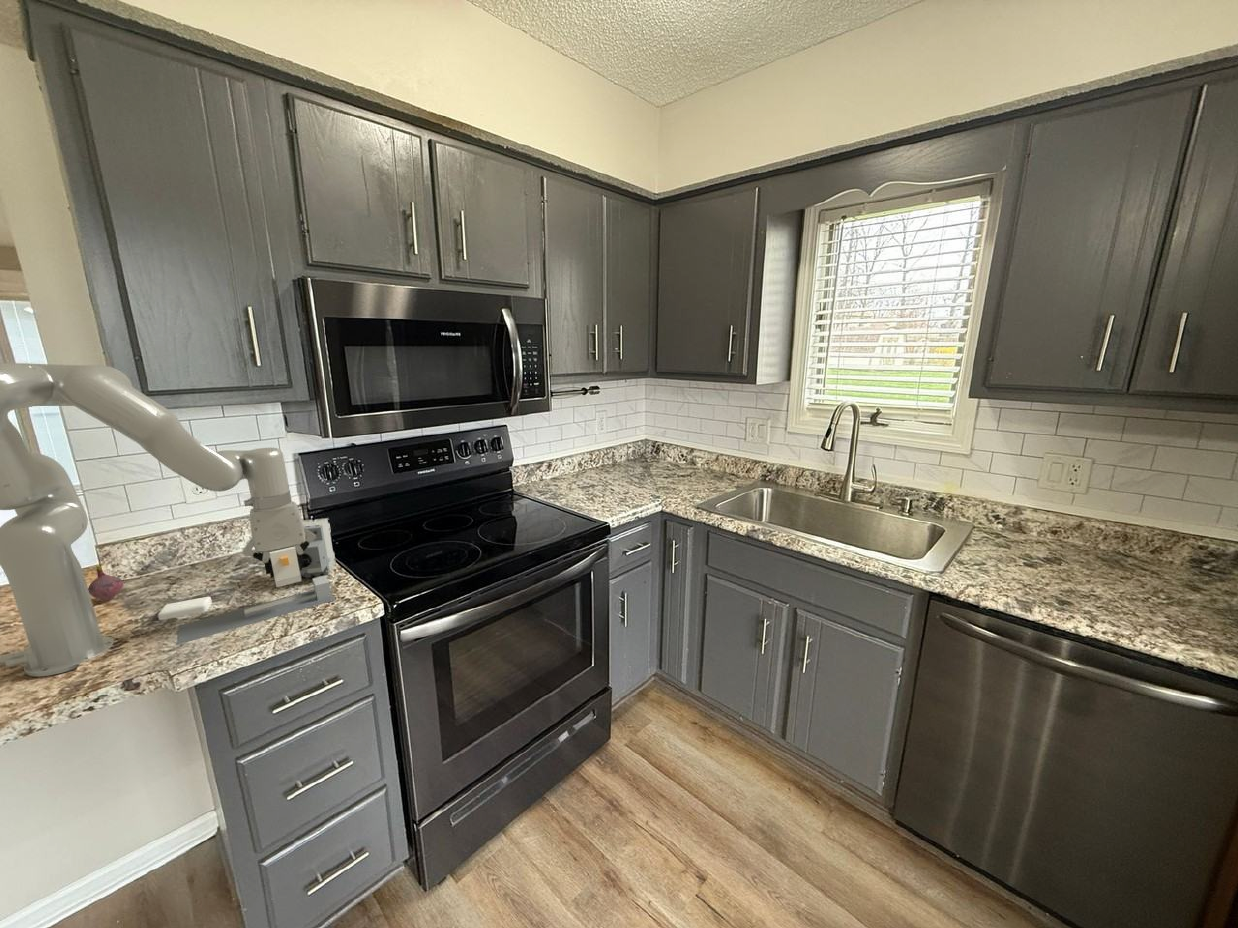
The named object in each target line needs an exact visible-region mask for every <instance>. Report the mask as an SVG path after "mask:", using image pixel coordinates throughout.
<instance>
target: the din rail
mask: <svg viewBox="0 0 1238 928" xmlns="http://www.w3.org/2000/svg"><path fill="white" fill-rule="evenodd" d="M314 599H317V595H316V592H315V591H312V592H308V593H304V594H301V595H297V596H293V597H289V598H286V599H282V600H278V601H274V602H271V603H267V604H263V605H259V606H256V607H252V608H248V609H245V610H244V612H245V618H248V617H252V616H256V615H259V614H263V613H266V612H270V611H274V610H277V609H281V608H285V607H288V606H292V605H295V604H299V603H303V602H306V601H310V600H314Z"/></svg>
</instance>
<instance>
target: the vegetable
mask: <svg viewBox="0 0 1238 928" xmlns="http://www.w3.org/2000/svg"><path fill="white" fill-rule="evenodd" d="M95 570H96V573H97V575H96V576H97V578H95V579H94V580H92V581H91V583H90V584H89V585H88V586H87V587H88V590H89V594H90V597H93V598H94V599H98V600H101V601H107V602H109V600H110V601H111V600H113V599H114V598H115V597H116V596H117V595H118V594H120V593H121V592H122V590H123V588H124V583H123V582H124V581H122V579H121V578H119V577H118V576H113V575H109V574H106V573H105V572H104V571H103V570H102V567H101V565H99V564H98V565H97V566H96V567H95Z"/></svg>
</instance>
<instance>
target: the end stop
mask: <svg viewBox="0 0 1238 928" xmlns="http://www.w3.org/2000/svg"><path fill="white" fill-rule="evenodd" d="M312 585H313V590H314V591H315V592H316V595H317V600H321V599H325V598H329V597H332V596H331V591H332V590H330V589H331V585H330V581H329V579H328V577H327V575H323V576H322V575H321V576H317V577H314V578H312Z"/></svg>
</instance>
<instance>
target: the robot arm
mask: <svg viewBox="0 0 1238 928" xmlns="http://www.w3.org/2000/svg"><path fill="white" fill-rule="evenodd" d="M58 406H59V407H75V408H77V409H79V410H81V411H82V412H84V413H86V414H87V415H89V416H91V417H93V418H94V419H96V420H97V421H99V422H101V423H102V424H105V425H106V426H108V427H110V428H111V429H113V430H115V431H117V432H119V433H120V434H121V435H123V436H125V437H127V438H129V439H130V440H131V441H133V442H135V443H137V444H138V446H141V448H142V449H143V450H144V451H146V452H147V453H148V454H150V455H151V456H152V457H153V458H155V460H157V461H158V462H159V463H161V464H162V465H163V466H165V467H166V468H168V469H169V470H171V471H172V472H173V473H176V474H177V475H179V476H180V477H183V478H184V479H186V480H187V481H188V482H191V483H193V484H195V485H197V486H198V487H200V488H202V489H204V490H207V491H211V492H215V493H216V492H218V493H219V492H225V491H229V490H231V489H233V488H235V487H236V486H237V485H238V483H240V482H241V481H242V480H246V481H247V484H248V490H249V495H250V497H249V499H246V500H243V503H244V506H245V507H251V509H250V510H249V526H250V533H251V537H250V538H249V540H248V542H247V543H246V545H245V546H244V548H243V549H242V554H243V555H245V556H249V557H252V558H253V559H256V560H258V561H260V562H262V563H264V568H265V573H266V574H265V575H270V578H273V579H274V573H273V568H272V563H271V559H270V556H269V554H270V553H269V551H273V550H277V549H282V548H286V547H291V546H295V549H296V554H297V560H298V565H299V570H300V571H301V570H302V567H301V566H303V565H304V561H303V555H302V554H303V552H304V551H305V549H306V548H307V547H308V546H309V544H310V543H311V542H312V541H313V540H314V539H315V538H316V535H315V534H313V533H312V532H310V531H309V530H307V529H306V528H305V527H303V523H302V521H303V519H302V516H301V512H300V510H299V506H298V505H297V502H295V501H292V495H291V490H290V486H289V485H290V484H289V480H288V474H287V469H286V464H285V457H284V453H283V451H282V450H281V449H280V448H277V447H260V448H254V449H249V450H231V449H230V450H220V451H219V450H218V451H215V450H212V449H211V448H210V447H208V446H207V445H205V444H203V443H201V442H200V441H199V440H198V439H196V438H195V437H194V436H192V435H191V434H190V433H189V432H188V431H187V430H186V429H185V427H184V426H183V425H182V423H181V422H180V419H179V418H178V417H177V416H176V414H175V413H173V412H172V411H171V410H169V409H168V408H166V407H165V406H163V405H161V404H160V403H158V402H157V401H155V400H154V399H152V398H150V397H149V396H147V395H146V394H144V393H143V392H141V391H139V390H138V389H136V388H135V387H133V385H132V381H131V380H130V378H129V377H128V376H127V375H126V374H125V373H124V372H122V371H120V370H119V369H117V368H114V367H112V366H109V365H100V364H97V365H96V364H95V365H94V364H93V365H89V364H88V365H86V364H85V365H84V364H83V365H82V364H79V365H78V364H77V365H75V364H52V363H49V364H47V363H27V362H26V363H21V362H20V363H19V362H15V363H3V362H2V363H0V511H11V510H13V511H15V513H16V515H15V516H13V517H12V518H10V519H8V520H7V521H6V522H4V523H3V524H1V525H0V567H1V569H2V570H3V572H4V575H5V577H6V578H7V580H8V581H7V582H8V583H9V586H10V589H11V592H12V596H13V598H14V600H15V604H16V606H17V609H18V610H17V611H18V613H19V615H20V619H21V622H22V626H23V628H24V631H25V635H26V638H27V641H28V644H29V647H26V648H25V647H24V649H23V650H20V651H16V652H11V653H6V654H2V655H0V666H5V667H6V668H7V669H8V668H12V667H16V666H18V665H23V664H25V665H24V668H23V671H24V673H25V674H26V675H27V676H30V677H38V678H41V677H48V676H53V675H59V674H62V673H65V672H69V671H72V670H76V669H78V667H79V665H80V664H82V663H85V662H88V661H90V660H92V659H93V658H96V657H98V656H100V655H102V654H103V653H105V652H106V651H108V650H109V649H110V648H111V647H112V646H113V645H114V642H115V640H114V639H113V638H112V637H111V636H105V635H104V636H103V635H102V634H101V630H100V626H99V622H98V619H97V616H96V612H95V609H94V604H93V601H92V598H91V597H92V596H91V595H90V594H89V590H88V587H89V586H88V583H87V580H86V578H85V577H86V576H85V573H84V570H83V567H82V566H81V564H80V562H79V560H78V558H77V555H75V553H74V551H73V549H72V544H74V543H75V542H76V541H77V540H79V539H80V538H81V537H82V535H83V534H85V532H86V531H87V528H88V524H89V523H88V522H89V521H88V516H87V512H86V510H85V508H84V506H83V503H82V501H81V499H80V498H79V495H78V493H77V490H76V489H75V487H74V484H73V482H72V481H71V478H70V476H69V474H68V473H67V470H66V469H65V468H64V467H63V466H62V465H61V463H59V462H58V461H57V460H55V459H54V458H52V457H50V456H48V455H45V454H41V453H37V452H29V449H28V448H27V445H26V444H25V442H24V439H23V437H22V435H21V433H20V431H19V430H18V429H17V427H16V426H15V425H14V424H13V423H12V422H11V421H10V419H9V416H8V414H9V413H10V412H11V411H12V412H13V411H14V410H19V409H25V408H30V407H32V408H33V407H58ZM305 535H306V536H307V538H306V540H305ZM300 544H301V545H300ZM253 548H254V549H253Z"/></svg>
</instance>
